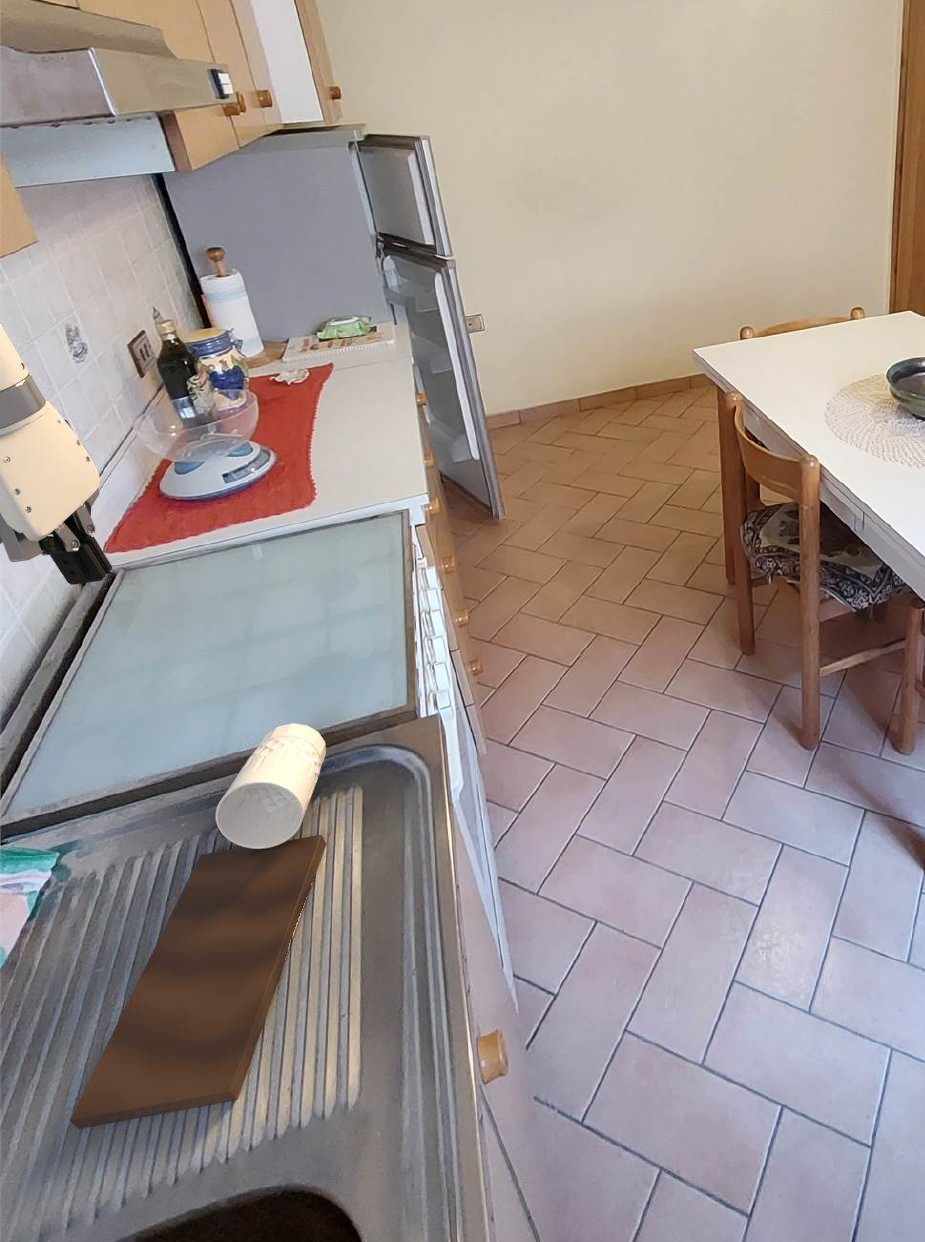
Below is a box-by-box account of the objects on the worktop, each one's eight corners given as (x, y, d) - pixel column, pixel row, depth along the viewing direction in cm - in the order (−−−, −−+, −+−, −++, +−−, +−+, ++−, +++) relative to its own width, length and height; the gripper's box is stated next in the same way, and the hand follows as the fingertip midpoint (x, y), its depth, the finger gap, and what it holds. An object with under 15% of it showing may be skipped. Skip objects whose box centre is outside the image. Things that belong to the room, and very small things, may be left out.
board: (206, 863, 77) (200, 854, 76) (326, 843, 78) (321, 834, 77) (78, 1129, 59) (68, 1121, 58) (237, 1100, 59) (229, 1091, 59)
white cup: (248, 774, 84) (208, 844, 75) (262, 713, 83) (222, 777, 73) (324, 783, 86) (294, 853, 77) (338, 723, 85) (310, 787, 75)
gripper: (1, 376, 70) (98, 535, 79) (-139, 460, 57) (-5, 640, 66) (86, 366, 70) (172, 525, 79) (-35, 447, 57) (84, 626, 66)
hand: (91, 576), depth 73 cm, fingers closed
